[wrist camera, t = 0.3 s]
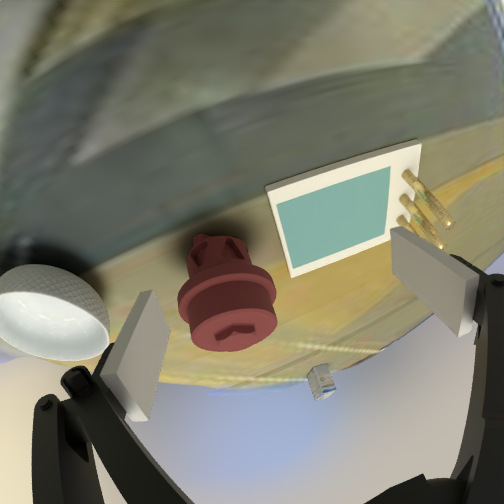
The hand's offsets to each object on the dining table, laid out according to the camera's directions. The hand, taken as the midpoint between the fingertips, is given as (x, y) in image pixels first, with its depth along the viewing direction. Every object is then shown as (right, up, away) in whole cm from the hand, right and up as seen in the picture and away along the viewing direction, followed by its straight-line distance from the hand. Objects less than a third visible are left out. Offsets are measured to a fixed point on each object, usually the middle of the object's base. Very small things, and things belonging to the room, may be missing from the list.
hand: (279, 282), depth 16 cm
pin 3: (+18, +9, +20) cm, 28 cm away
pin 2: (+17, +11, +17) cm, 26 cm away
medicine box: (+18, -33, +69) cm, 78 cm away
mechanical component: (-6, +2, +20) cm, 21 cm away
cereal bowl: (-27, -3, +18) cm, 33 cm away
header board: (+11, +7, +21) cm, 24 cm away
